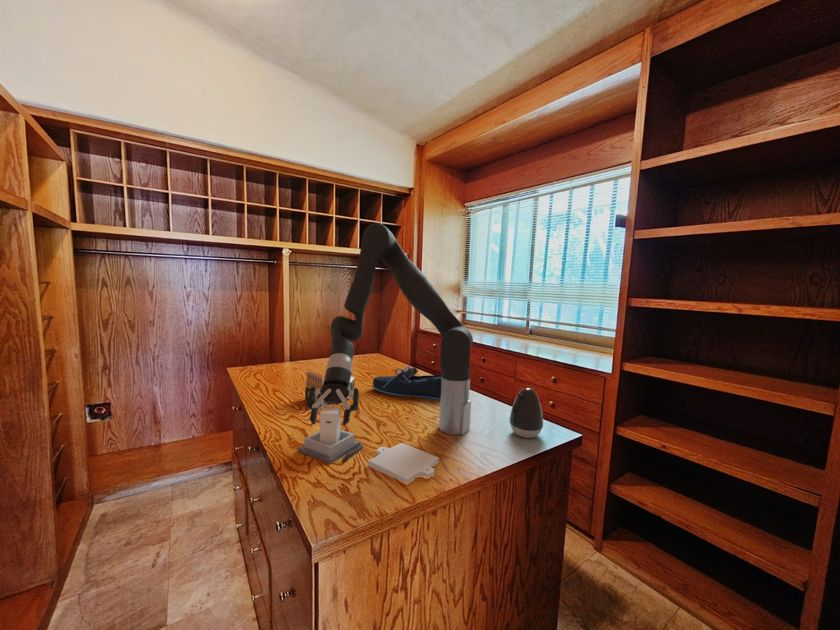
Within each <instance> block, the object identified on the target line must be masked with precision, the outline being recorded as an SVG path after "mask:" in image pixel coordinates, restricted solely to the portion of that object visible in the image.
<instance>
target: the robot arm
mask: <svg viewBox="0 0 840 630" xmlns="http://www.w3.org/2000/svg"><path fill="white" fill-rule="evenodd" d="M379 260H381V261H382V262H383V264H384V265H385V266H386V267H387V268H388V269H389V270H390V273H392V276H393V278H394V279H395V282H396V283H397V286H398V288H399V289H400V291H401V293H402V294H403V296H404V297H405V298H406V299H407V301H408V302H409V304H411V305H412V307H414V309H415V310H416V311H417V312H418V313H420V314H421V315H422V316H424V317H425V319H427V320H429V322H430V323H431V324H432V325H433V326H434V328H435V329H436V330H437V332H439V334H440V336H441V340H440V351H439V352H440V356H439V357H440V359H439V360H440V361H439V364H440V365H439V366H440V372H441V373H440V374H441V393H440V400H439V419H438V420H439V421H438V423H439V424H438V429H439V431H440V432H442V433H445V434H447V435H451V436H452V435H453V436H454V435H455V436H456V435H459V436H464V435H465V434H466V433H467V432H468V431H469V430H470V429H471V409H472V408H471V407H472V400H470V388H471V387H470V386H471V369H470V368H471V367H470V362H471V360H470V359H471V349H472V346H473V344H474V338H473V335H472V333H471V332H470V330H469V329H468V328H467V327H466V326H465V325H464V324H463V323H462V321H460V320H459V319H458V318H457V317H456V316H455V314H454V313H453V312H452V311H451V310H450V308H449V307H448V306H447V304H446V303H445V301H444V300H443V298H442V297H441V295H440V293H439V292H438V291H437V289H436V288H435V287H434V285H433V284H432V283H431V282H430V280H429V279H428V277H426V275H425V274H424V272H422V271H421V270H420V269H419V267H418V266H417V265H416V264H415V263H414V262H413V261H412V260H411V259H410V258H408V256H407V255H406V253H405V252H404V250H403V249H402V247H401V246H400V244H399V242H398V240H397V238H396V237H395V236H394V234H393V232H392V231H391V230H390V229H389V228H388V227H386V226H385V225H384V224H382V223H379V222H378V223H376V222H374V223H371V224H369V225H368V226H367V227H366V228H365V230H364V232H363V235H362V240H361V244H360V251H359V256H358V259H357V264H356V269H355V271H354V274H353V279H352V281H351V285H350V287H349V291H348V293H347V296H346V298H345V302H344V305H343V306H344V307H343V308H344V309H345V310H346V311H348V312H349V313H350V314H352V315H354V318H355V319H351V318H348V317H346V316H342V315H338V316H335V317H334V318H333V319H332V321H331V322H330V337H331V351H330V355H329V359H328V361H327V365H326V368H325V373H324V379H323V381H322V382H323V387H322V388H321V389H315V387H311V389H310V393H309V396H308V399H307V401H306V403H305V405H306V408H307V409H308V410H310V411H311V412H310V416H309V421H310V423H311V424H312V425H316V423H317V419H318V418H317V417H318V415H319V412H318V411H320V409H321V408H324V407H325V406H326V404H327V405H337V406H338V405H340V404H341V405H342V406H343V408H344V409H345V410H344V413H343V420H342V424H343V426H347V424H349V423H350V417H351V413H352V412H356V411H358V409H359V397H360V392H359V389H358V388H356V387H354V390H349V384H350V377H351V373H352V374H353V359H354V353H355V352H354V351H355V345H354V344H353V342H357V341H359V340H360V339H361V337H362V336H363V330H364V328H363V327H364V316H365V313H366V308H367V306H368V302H369V300H370V296H371V294H372V289H373V284H374V278H375V277H374V276H375V271H376V269H377V268H376V267H377V266H378V265H377V264H378V262H379ZM319 393H321V395H322V396H321V397H320V398H319V399H318V400H317V402H315V403H314V400H315V397H316V396H317V395H318V394H319ZM349 394H351V396H352V404H351V405H350V404H349V403H348V401H347V400H348V399H346V398H347V397H348V396H349ZM313 403H314V404H313Z"/></svg>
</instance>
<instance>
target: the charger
mask: <svg viewBox="0 0 840 630" xmlns="http://www.w3.org/2000/svg"><path fill="white" fill-rule="evenodd" d="M340 430H341V407H337V406H335V407H333V406H323V407H322V410H321V411H320V414H319V431H320V442H321V443H324V444H327V445H330V446H331V445H333V444H335V443H336V442H338V441H340Z"/></svg>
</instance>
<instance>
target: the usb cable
mask: <svg viewBox="0 0 840 630" xmlns="http://www.w3.org/2000/svg"><path fill="white" fill-rule="evenodd" d="M363 448H364V445H363V444H360V446H358V447H357V448H355V449H354V450H352V451H351V452H349V453H347V454H346V455H344V456H343V457H342V461H343V462H346V461H347V460H348V459H349V458H350V457H352V456H353V455H355V454H356V453H357V452H358V451H360V450H362V449H363Z"/></svg>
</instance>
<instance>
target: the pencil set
mask: <svg viewBox="0 0 840 630" xmlns="http://www.w3.org/2000/svg"><path fill="white" fill-rule="evenodd" d="M323 382H324V381H323V375H322V374H320V373H317V372H315V371H312V370H310V369H308V370H307V372H306V381H305V383H306V384H305V387H304V389H305V390H304V391H305V394H304V400H305V401H306V400H307V399H308V396H309V393H310V389H311V387H315V389H321V388H322V387H323ZM321 396H322V395H321V393H319V394H318V395H317V396H316V397H315V400H314V403H315V402H317V400H318V399H319V398H320V397H321ZM314 403H313V404H314Z"/></svg>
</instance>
